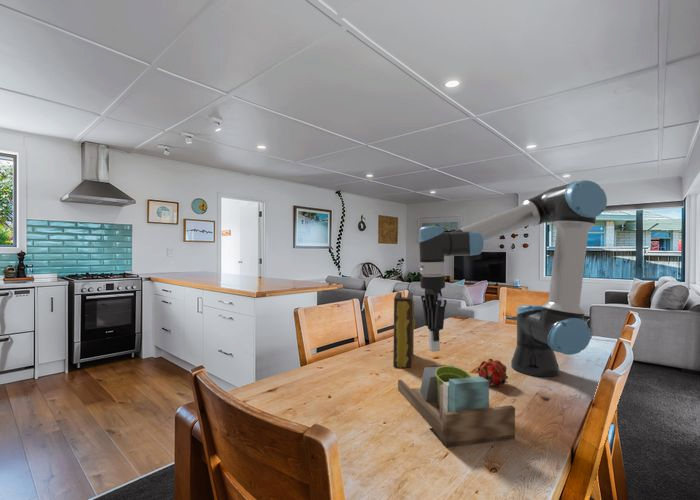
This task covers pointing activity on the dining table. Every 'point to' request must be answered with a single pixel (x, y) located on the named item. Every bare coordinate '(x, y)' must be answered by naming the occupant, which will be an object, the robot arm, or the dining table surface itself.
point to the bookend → (429, 384)
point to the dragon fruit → (493, 372)
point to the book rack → (463, 412)
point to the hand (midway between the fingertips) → (434, 350)
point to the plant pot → (449, 376)
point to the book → (403, 330)
